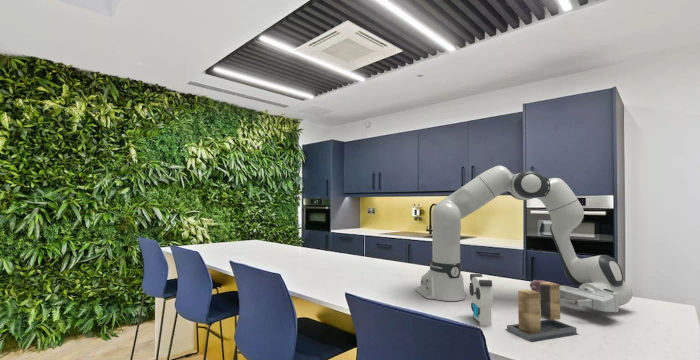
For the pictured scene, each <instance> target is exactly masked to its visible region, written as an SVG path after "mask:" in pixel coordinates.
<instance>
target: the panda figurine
mask: <svg viewBox="0 0 700 360" xmlns="http://www.w3.org/2000/svg"><path fill="white" fill-rule="evenodd" d="M469 279H470V283H469V295H470V298H471V303H470V306H471V307H470V308H471V311H472V319H474V320H476V321H477V322H478V326H488V327H489V326H490V327H491V326H493V325H492V307H493V304H494V295H493V293H494V292H493V281H492V280H491V279H489V278H488V277H486V276H483V274H482V273H470V274H469Z"/></svg>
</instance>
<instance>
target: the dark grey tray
mask: <svg viewBox="0 0 700 360" xmlns="http://www.w3.org/2000/svg"><path fill="white" fill-rule="evenodd" d="M540 322H541V332H535V333H526V332H524V331H522V330H520V329H519V323H514V324H508V325H506V328H505V329H504V331H507V332H508V333H510V334H513V335H516V336H517V337H519V338H521V339H524V340H526V341H528V342H530V343H537V342H543V341H549V340H554V339H555V340H556V339H561V338H566V337H573V336H580V333H578V332H577V327H576V326H572V325H570V324H568V323H564V322H562V321H559V320H557V319H542V320H540Z"/></svg>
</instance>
